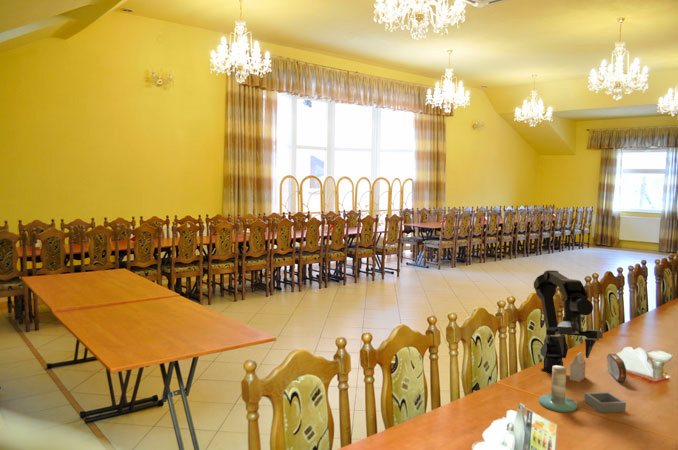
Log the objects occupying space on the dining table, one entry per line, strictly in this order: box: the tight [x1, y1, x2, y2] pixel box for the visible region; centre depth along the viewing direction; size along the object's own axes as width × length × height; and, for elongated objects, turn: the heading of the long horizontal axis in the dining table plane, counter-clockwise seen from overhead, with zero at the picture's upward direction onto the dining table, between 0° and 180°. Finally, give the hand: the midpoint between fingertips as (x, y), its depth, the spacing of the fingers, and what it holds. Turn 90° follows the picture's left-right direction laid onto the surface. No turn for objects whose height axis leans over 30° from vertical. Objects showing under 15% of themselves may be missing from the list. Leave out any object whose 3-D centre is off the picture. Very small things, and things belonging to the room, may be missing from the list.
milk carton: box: [569, 351, 587, 383], centre depth 198 cm, size 4×7×10 cm, turn 138°
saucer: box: [538, 394, 578, 413], centre depth 174 cm, size 12×12×1 cm
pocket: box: [583, 391, 627, 413], centre depth 173 cm, size 9×9×3 cm
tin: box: [606, 353, 627, 382], centre depth 200 cm, size 15×3×8 cm, turn 168°
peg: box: [550, 365, 567, 404], centre depth 174 cm, size 4×4×12 cm
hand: (574, 356), depth 187 cm, fingers open, 9 cm apart
